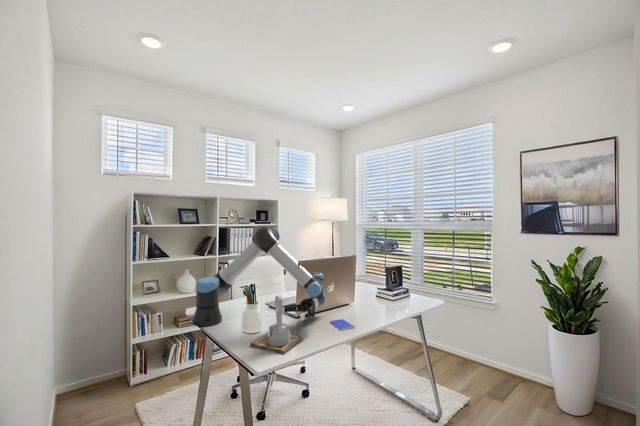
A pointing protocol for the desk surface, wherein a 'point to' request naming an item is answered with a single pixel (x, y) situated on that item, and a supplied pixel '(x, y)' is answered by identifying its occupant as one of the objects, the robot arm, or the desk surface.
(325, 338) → the desk surface
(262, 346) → the walnut board
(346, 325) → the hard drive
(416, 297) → the desk surface
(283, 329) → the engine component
